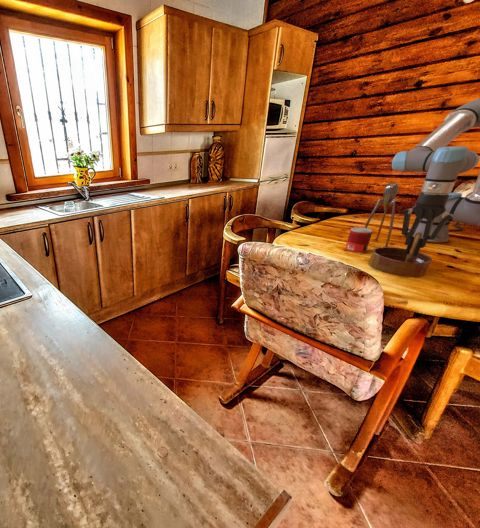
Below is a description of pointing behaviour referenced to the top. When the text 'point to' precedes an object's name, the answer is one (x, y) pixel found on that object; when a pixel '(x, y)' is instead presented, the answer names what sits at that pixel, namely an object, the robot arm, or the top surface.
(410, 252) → the wooden spoon
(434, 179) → the robot arm
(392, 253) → the bowl
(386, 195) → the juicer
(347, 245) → the canned food
